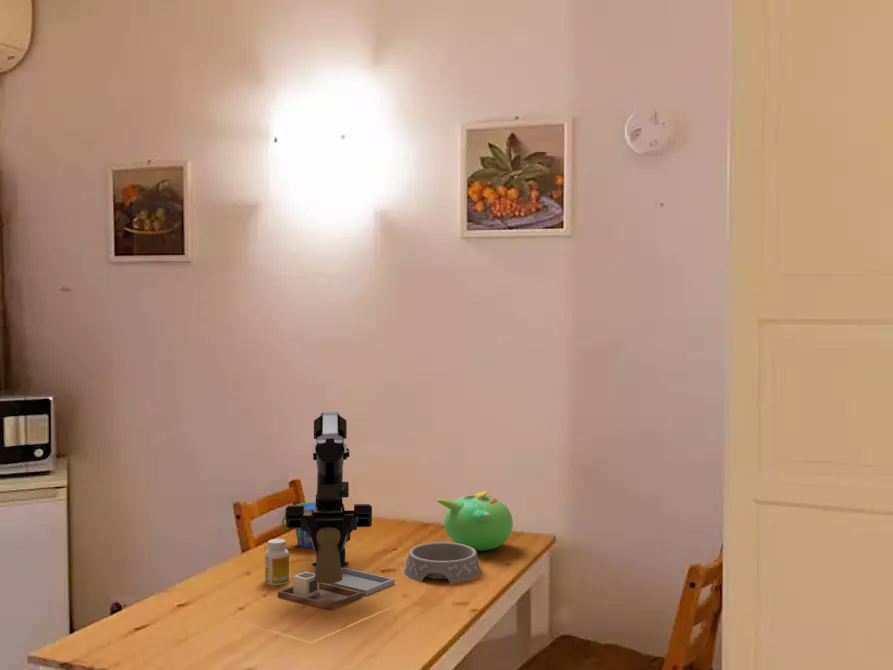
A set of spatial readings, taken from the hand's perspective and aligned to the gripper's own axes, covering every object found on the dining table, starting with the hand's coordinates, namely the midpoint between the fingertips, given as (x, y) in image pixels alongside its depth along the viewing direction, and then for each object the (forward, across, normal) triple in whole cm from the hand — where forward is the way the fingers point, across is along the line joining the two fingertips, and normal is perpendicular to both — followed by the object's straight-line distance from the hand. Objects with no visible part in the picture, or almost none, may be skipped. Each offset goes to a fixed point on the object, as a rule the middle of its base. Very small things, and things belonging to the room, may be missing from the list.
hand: (328, 550), depth 206 cm
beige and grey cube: (+4, -5, +12) cm, 13 cm away
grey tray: (0, +6, +16) cm, 17 cm away
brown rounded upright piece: (+4, 0, +6) cm, 7 cm away
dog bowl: (-6, +26, +23) cm, 35 cm away
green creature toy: (-19, +37, +36) cm, 55 cm away
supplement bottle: (-2, -12, +19) cm, 22 cm away
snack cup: (-24, -6, +41) cm, 48 cm away
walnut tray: (+6, -2, +10) cm, 12 cm away
